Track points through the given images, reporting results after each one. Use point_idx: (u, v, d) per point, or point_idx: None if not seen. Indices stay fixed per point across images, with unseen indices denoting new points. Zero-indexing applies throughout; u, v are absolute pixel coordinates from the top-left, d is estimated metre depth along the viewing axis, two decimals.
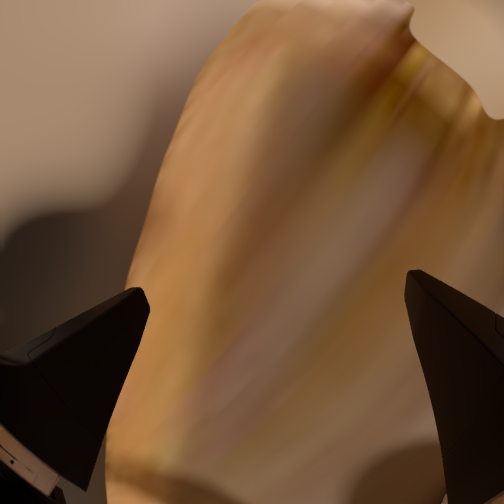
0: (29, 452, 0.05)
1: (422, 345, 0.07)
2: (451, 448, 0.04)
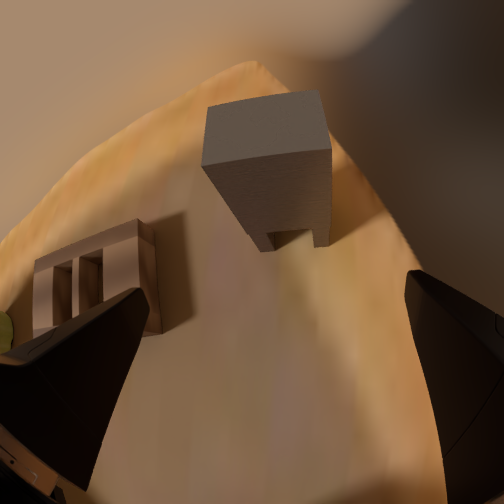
0: (29, 452, 0.05)
1: (422, 345, 0.07)
2: (451, 448, 0.04)
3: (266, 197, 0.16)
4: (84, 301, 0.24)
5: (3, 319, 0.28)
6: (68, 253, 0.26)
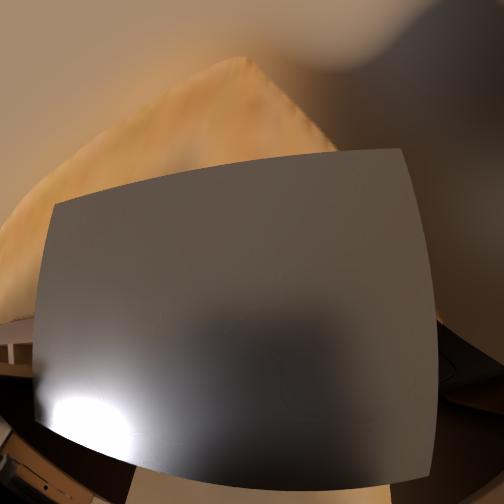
0: (62, 472, 0.04)
1: None
2: None
3: None
4: None
5: None
6: (3, 334, 0.16)
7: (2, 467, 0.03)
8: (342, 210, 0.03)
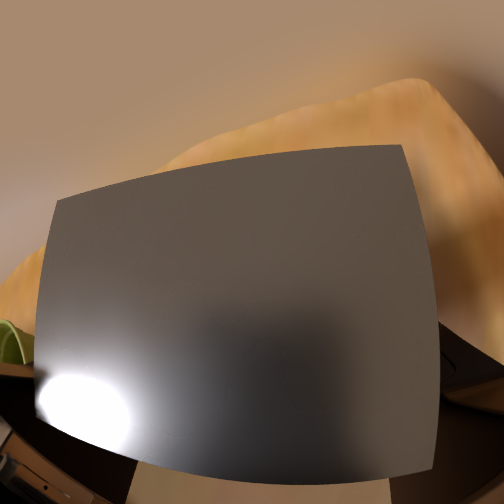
0: (62, 473, 0.04)
1: None
2: None
3: None
4: None
5: None
6: None
7: (2, 467, 0.03)
8: (344, 204, 0.03)
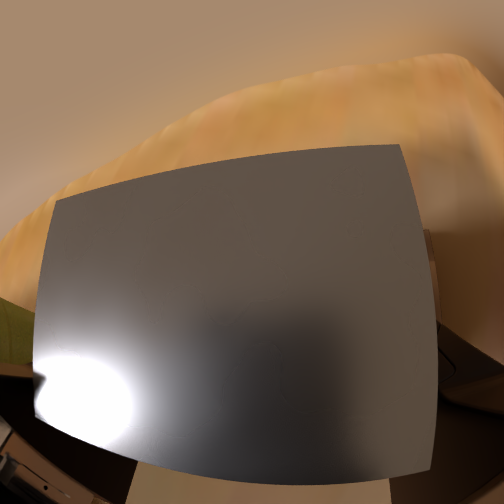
0: (62, 473, 0.04)
1: None
2: None
3: None
4: None
5: None
6: None
7: (2, 467, 0.03)
8: (341, 204, 0.03)
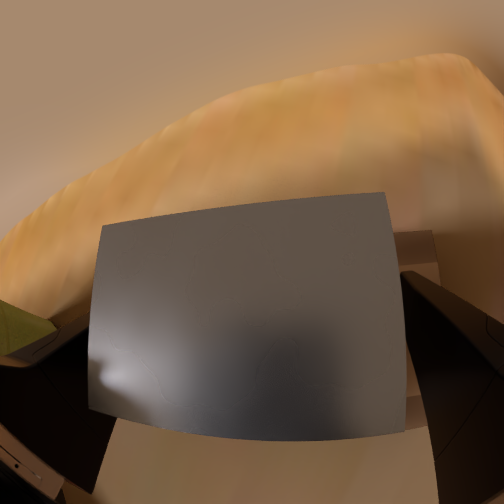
0: (34, 455, 0.04)
1: (414, 346, 0.07)
2: (442, 451, 0.04)
3: None
4: None
5: None
6: None
7: None
8: (339, 241, 0.05)
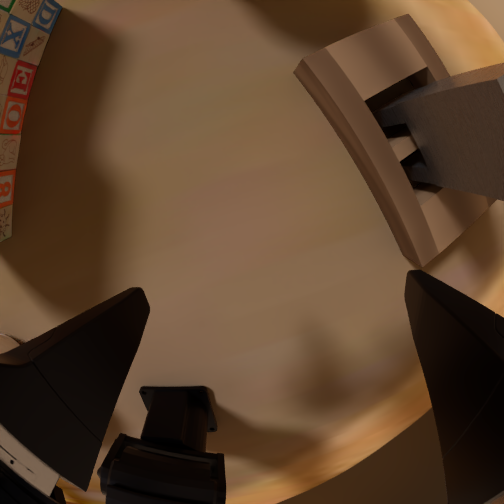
0: (29, 452, 0.05)
1: (422, 345, 0.07)
2: (450, 449, 0.04)
3: (464, 134, 0.10)
4: None
5: None
6: None
7: None
8: None
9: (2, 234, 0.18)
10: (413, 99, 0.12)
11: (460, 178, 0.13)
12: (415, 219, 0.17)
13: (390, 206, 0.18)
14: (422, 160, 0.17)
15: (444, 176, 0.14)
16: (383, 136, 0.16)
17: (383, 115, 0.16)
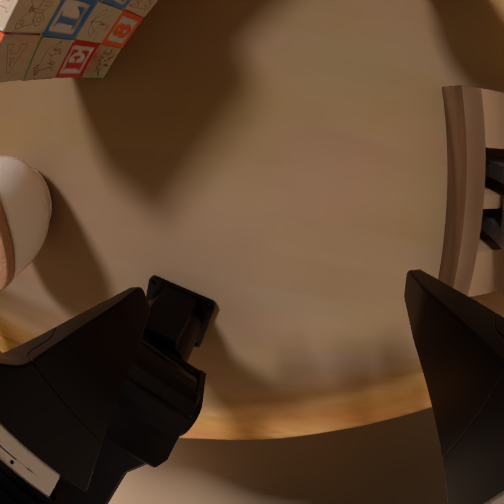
0: (30, 452, 0.05)
1: (422, 345, 0.07)
2: (450, 449, 0.04)
3: None
4: None
5: None
6: None
7: None
8: None
9: (96, 71, 0.17)
10: None
11: None
12: (468, 259, 0.17)
13: (456, 237, 0.18)
14: (496, 219, 0.16)
15: None
16: (483, 182, 0.15)
17: (490, 166, 0.15)
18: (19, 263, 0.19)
